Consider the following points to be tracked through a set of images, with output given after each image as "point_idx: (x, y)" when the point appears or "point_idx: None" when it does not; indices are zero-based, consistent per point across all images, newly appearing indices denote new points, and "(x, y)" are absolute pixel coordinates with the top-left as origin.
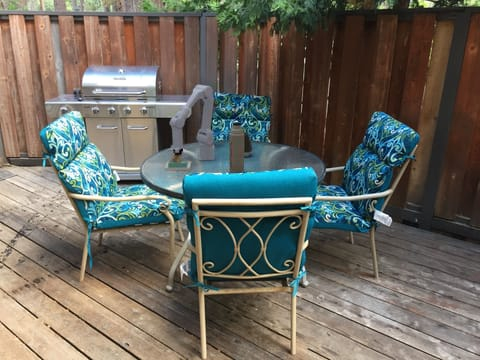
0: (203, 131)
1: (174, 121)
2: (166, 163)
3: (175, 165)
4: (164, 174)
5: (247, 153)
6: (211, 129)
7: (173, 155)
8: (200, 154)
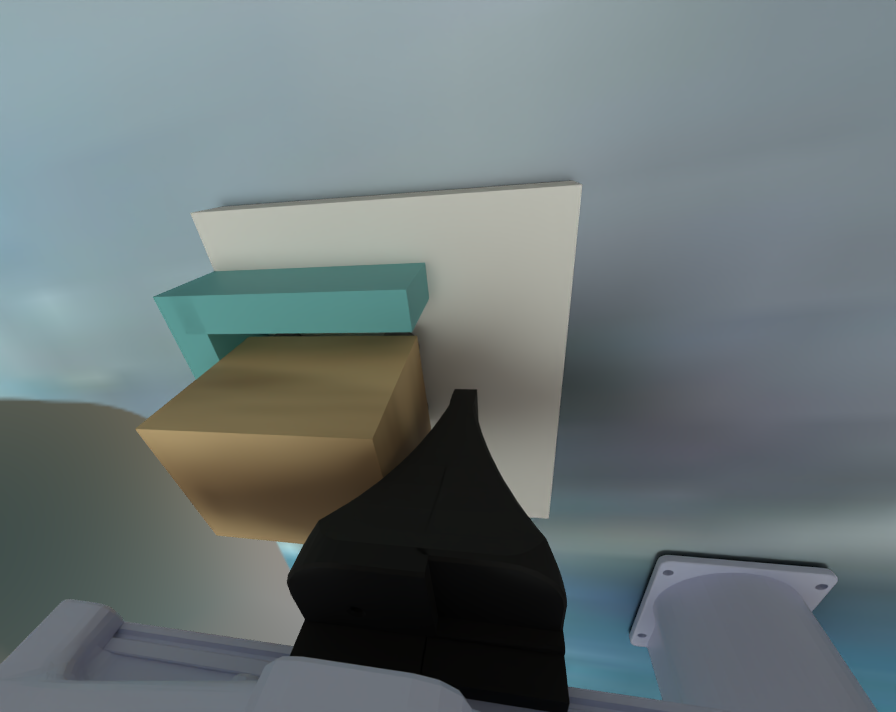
0: None
1: None
2: (423, 196)
3: None
4: (71, 234)
5: None
6: None
7: (295, 448)
8: (721, 634)
